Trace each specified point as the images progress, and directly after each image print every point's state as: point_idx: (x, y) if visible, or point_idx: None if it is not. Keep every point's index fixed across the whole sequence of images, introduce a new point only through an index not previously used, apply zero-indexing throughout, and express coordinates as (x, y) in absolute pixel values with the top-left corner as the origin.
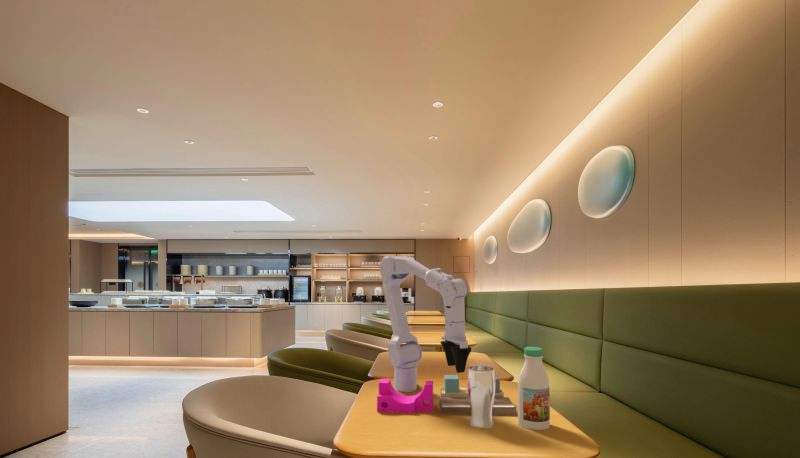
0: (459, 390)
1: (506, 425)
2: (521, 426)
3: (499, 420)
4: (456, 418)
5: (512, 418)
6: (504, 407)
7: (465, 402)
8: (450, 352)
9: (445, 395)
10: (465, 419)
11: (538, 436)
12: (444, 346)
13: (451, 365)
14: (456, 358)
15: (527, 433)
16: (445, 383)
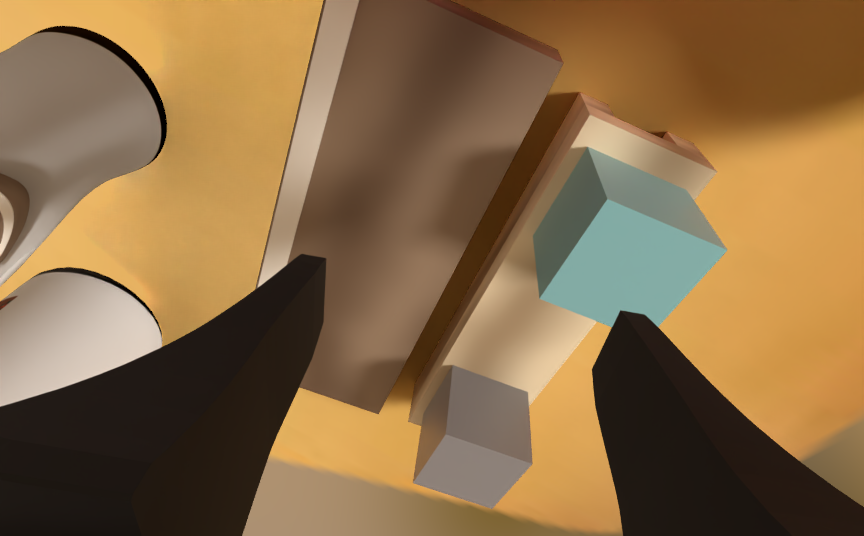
0: None
1: (128, 237)
2: (58, 272)
3: (195, 244)
4: (259, 31)
5: (213, 307)
6: None
7: (378, 189)
8: (664, 475)
9: (571, 134)
10: (233, 81)
11: (6, 280)
12: (763, 523)
13: (609, 340)
14: (165, 355)
15: (35, 262)
16: (599, 180)
